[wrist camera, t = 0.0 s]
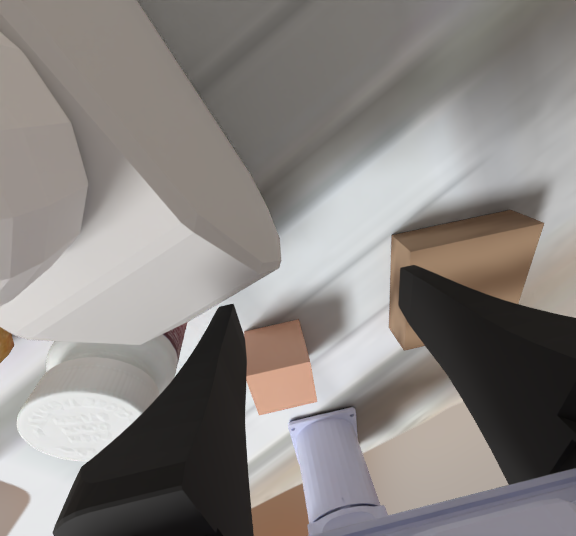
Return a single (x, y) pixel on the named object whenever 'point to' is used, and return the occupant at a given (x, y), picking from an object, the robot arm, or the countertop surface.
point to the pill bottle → (96, 393)
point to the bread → (5, 343)
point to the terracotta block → (279, 367)
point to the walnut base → (466, 259)
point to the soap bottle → (114, 181)
